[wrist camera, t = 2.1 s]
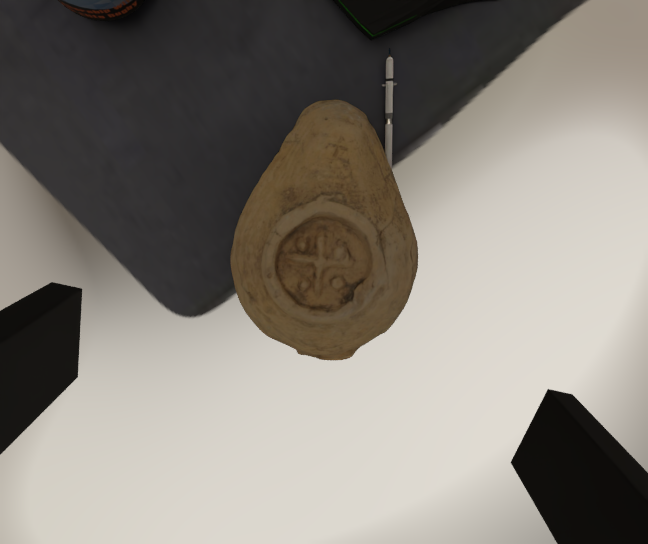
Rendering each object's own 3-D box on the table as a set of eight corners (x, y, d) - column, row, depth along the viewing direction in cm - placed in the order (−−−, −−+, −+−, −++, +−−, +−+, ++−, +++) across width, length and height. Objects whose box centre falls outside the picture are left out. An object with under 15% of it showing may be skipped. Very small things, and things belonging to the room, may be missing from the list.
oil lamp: (262, 58, 19) (280, 104, 27) (193, 351, 21) (229, 313, 29) (481, 121, 19) (435, 148, 27) (392, 402, 21) (374, 351, 29)
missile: (393, 45, 22) (400, 47, 23) (378, 47, 23) (385, 49, 24) (391, 220, 26) (397, 217, 26) (377, 219, 26) (384, 216, 27)
